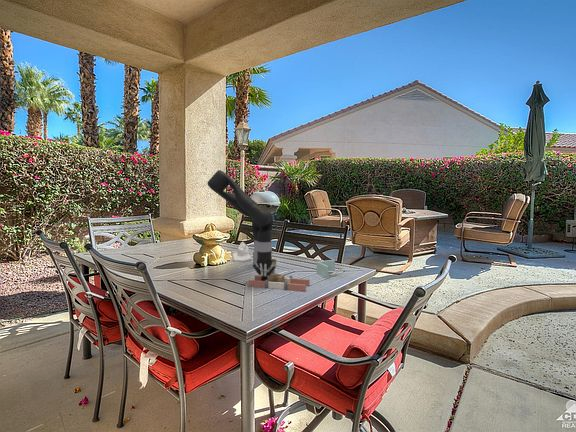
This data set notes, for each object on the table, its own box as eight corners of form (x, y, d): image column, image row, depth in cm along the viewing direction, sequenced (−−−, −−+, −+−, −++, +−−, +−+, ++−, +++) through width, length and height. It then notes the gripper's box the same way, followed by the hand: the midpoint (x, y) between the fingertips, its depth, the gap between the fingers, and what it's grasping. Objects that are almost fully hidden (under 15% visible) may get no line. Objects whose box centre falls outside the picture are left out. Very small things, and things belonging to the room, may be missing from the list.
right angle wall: (326, 279, 170) (327, 266, 169) (316, 274, 180) (316, 261, 180) (345, 277, 174) (345, 264, 174) (333, 271, 185) (334, 259, 184)
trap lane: (247, 286, 157) (247, 278, 156) (255, 280, 168) (255, 272, 167) (305, 292, 149) (305, 283, 148) (309, 284, 160) (309, 277, 159)
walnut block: (267, 286, 157) (267, 276, 157) (271, 282, 163) (271, 273, 162) (280, 287, 155) (280, 278, 154) (284, 284, 161) (284, 274, 160)
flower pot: (280, 274, 179) (279, 259, 178) (272, 278, 170) (272, 263, 169) (265, 272, 183) (265, 258, 182) (257, 276, 174) (257, 261, 173)
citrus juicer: (256, 261, 214) (258, 243, 210) (239, 267, 204) (241, 248, 199) (245, 254, 222) (247, 236, 217) (228, 260, 211) (229, 241, 207)
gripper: (249, 250, 157) (249, 283, 158) (274, 252, 153) (274, 286, 155) (255, 247, 164) (255, 279, 165) (278, 249, 160) (278, 281, 162)
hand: (264, 282), depth 160 cm, fingers closed
